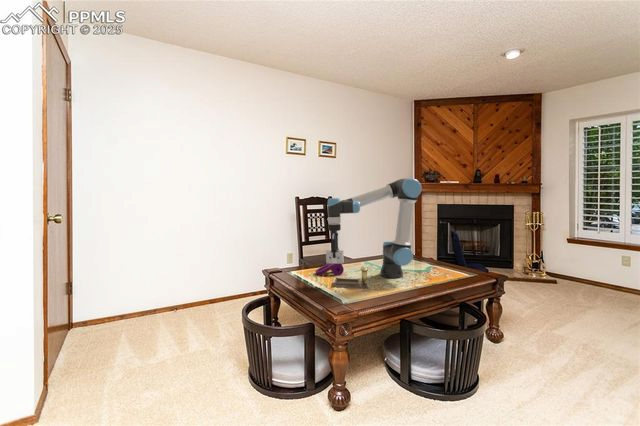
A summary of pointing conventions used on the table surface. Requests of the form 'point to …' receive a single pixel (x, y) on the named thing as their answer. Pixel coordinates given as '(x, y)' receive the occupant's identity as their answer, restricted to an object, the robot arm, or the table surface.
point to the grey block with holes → (339, 256)
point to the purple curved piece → (335, 268)
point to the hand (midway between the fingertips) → (335, 261)
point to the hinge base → (353, 281)
